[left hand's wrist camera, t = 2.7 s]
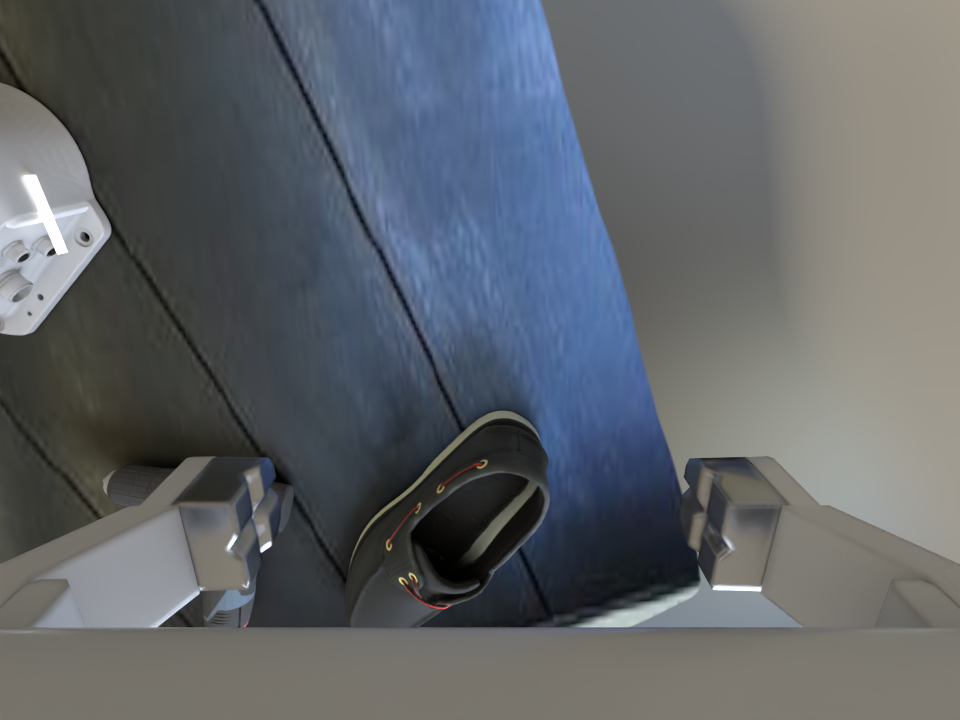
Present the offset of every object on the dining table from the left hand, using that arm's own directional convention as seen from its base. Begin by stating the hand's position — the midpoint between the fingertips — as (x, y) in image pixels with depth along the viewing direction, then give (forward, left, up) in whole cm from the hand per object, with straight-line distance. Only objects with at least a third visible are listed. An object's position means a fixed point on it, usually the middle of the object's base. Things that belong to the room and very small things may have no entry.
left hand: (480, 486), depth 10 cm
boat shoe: (-29, -15, -40) cm, 52 cm away
